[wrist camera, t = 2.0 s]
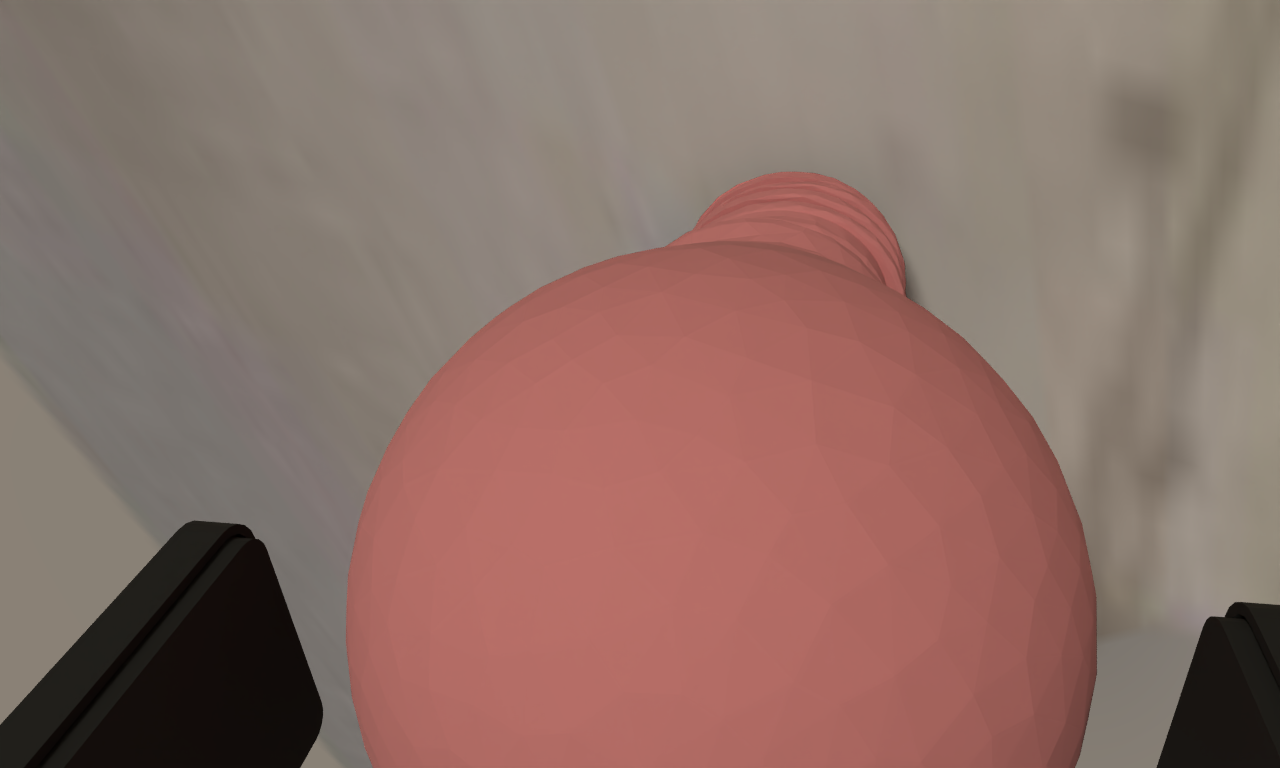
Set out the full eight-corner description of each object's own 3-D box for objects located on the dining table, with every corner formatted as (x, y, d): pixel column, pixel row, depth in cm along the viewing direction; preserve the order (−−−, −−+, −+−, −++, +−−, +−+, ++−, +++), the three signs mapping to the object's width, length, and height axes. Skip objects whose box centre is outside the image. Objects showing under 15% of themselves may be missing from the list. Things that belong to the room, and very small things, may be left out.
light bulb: (499, 169, 17) (-11, 753, 7) (873, -61, 14) (898, 410, 4) (704, 461, 19) (542, 1180, 10) (1057, 325, 16) (1346, 1180, 7)
